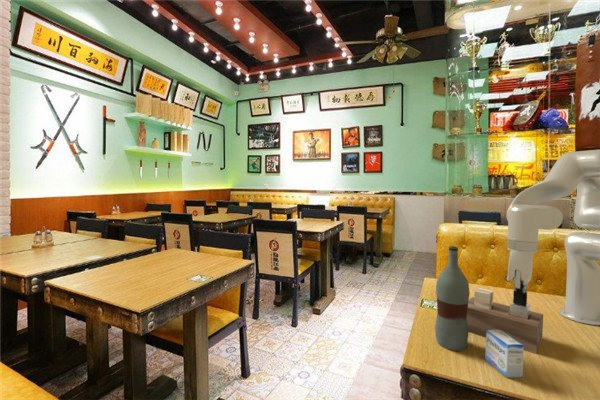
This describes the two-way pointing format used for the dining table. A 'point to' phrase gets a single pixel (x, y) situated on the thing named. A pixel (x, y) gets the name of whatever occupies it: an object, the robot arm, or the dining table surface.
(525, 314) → the pale grey block
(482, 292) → the ash peg
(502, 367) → the medicine box
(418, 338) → the dining table surface
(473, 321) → the block
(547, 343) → the dining table surface
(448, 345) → the bottle
